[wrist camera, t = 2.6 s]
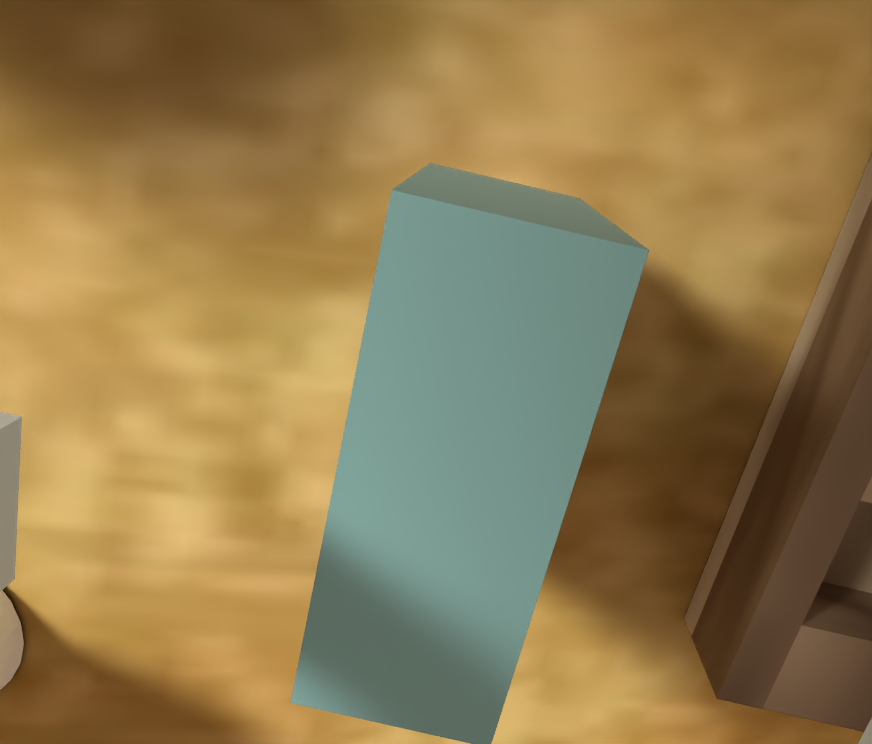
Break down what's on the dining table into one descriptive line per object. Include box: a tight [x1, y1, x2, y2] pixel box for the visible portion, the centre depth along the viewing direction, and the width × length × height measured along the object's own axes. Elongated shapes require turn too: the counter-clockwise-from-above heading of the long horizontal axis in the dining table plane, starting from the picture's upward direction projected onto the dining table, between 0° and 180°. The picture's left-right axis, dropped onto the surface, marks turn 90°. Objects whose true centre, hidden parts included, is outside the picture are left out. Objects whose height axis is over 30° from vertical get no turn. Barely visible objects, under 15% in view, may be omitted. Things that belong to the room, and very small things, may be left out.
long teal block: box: [291, 163, 649, 744], centre depth 18 cm, size 4×10×12 cm, turn 167°
